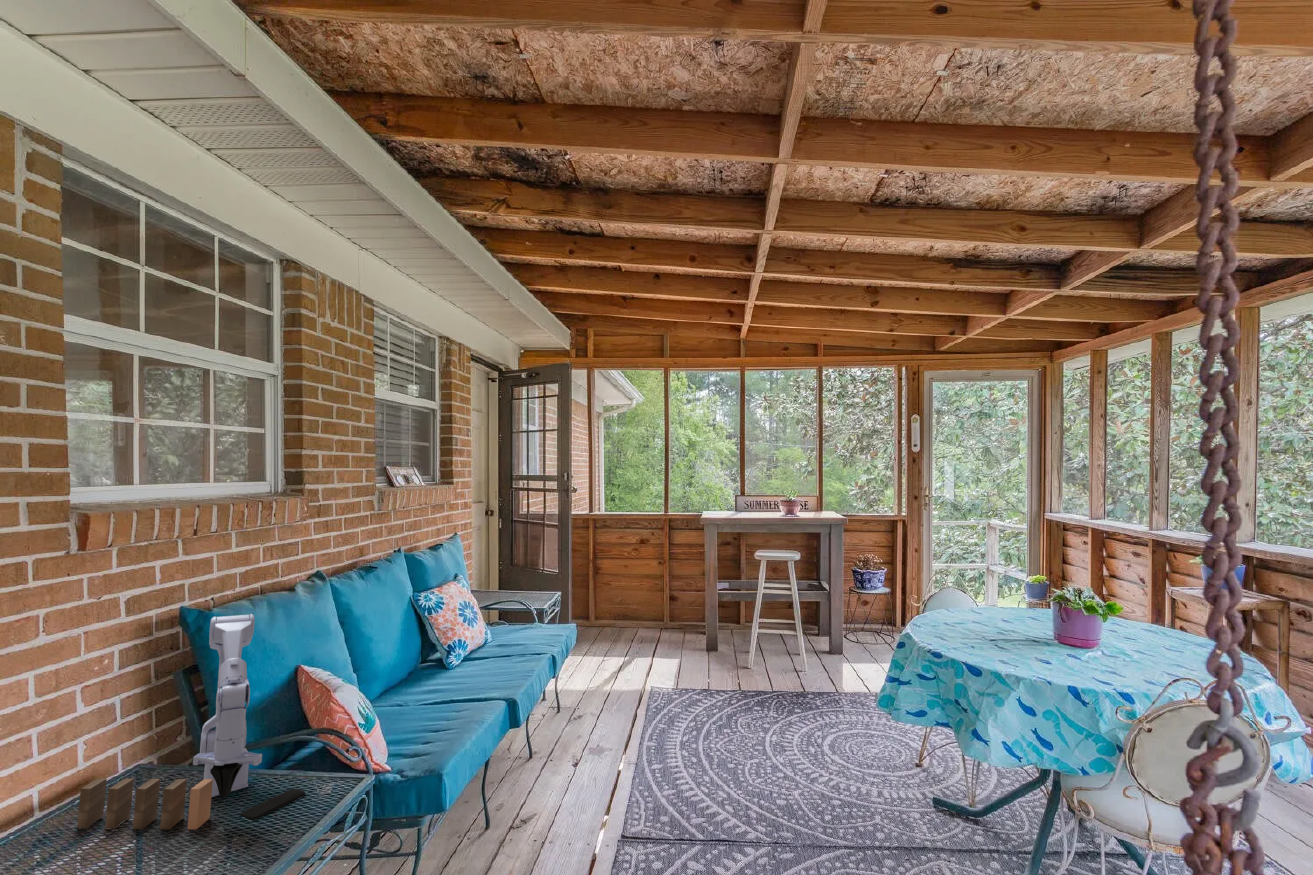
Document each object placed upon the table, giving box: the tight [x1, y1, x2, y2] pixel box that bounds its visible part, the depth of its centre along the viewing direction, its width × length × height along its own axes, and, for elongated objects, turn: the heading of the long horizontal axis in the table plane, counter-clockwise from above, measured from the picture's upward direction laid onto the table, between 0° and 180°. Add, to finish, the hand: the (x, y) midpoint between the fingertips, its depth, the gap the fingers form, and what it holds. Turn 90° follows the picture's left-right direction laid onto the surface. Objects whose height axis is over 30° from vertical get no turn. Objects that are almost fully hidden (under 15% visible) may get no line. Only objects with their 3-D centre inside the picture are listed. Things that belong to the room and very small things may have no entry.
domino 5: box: [187, 778, 213, 830], centre depth 153 cm, size 2×5×9 cm, turn 5°
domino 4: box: [159, 778, 187, 830], centre depth 153 cm, size 2×5×9 cm, turn 4°
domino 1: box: [76, 778, 108, 829], centre depth 151 cm, size 2×5×9 cm, turn 4°
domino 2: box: [104, 778, 135, 830], centre depth 152 cm, size 2×5×9 cm, turn 4°
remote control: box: [240, 787, 306, 821], centre depth 162 cm, size 5×2×15 cm
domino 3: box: [132, 778, 161, 830], centre depth 152 cm, size 2×5×9 cm, turn 4°
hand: (224, 795), depth 154 cm, fingers closed
